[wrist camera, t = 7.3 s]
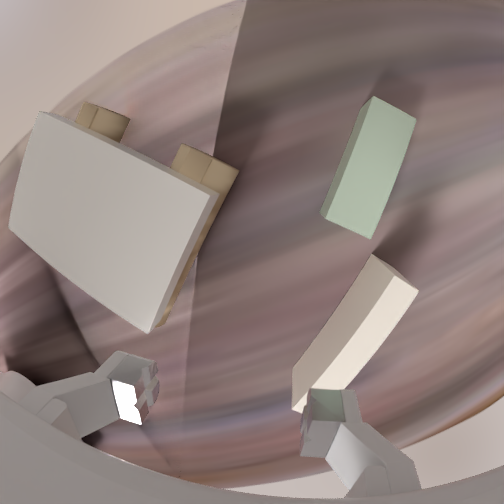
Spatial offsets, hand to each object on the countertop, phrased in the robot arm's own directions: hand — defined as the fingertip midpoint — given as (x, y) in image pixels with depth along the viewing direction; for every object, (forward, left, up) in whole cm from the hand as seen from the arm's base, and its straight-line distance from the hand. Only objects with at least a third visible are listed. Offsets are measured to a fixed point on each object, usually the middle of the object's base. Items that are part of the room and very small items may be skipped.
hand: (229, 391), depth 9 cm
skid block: (+10, -2, -13) cm, 16 cm away
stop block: (0, -7, -12) cm, 14 cm away
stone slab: (0, +12, -8) cm, 14 cm away
